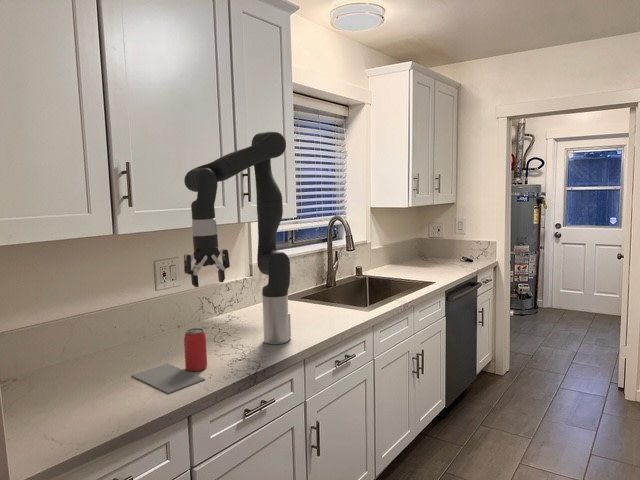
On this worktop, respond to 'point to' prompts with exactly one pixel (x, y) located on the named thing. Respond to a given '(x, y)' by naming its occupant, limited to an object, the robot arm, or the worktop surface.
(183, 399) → the worktop surface
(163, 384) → the slate mat
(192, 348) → the beer can
